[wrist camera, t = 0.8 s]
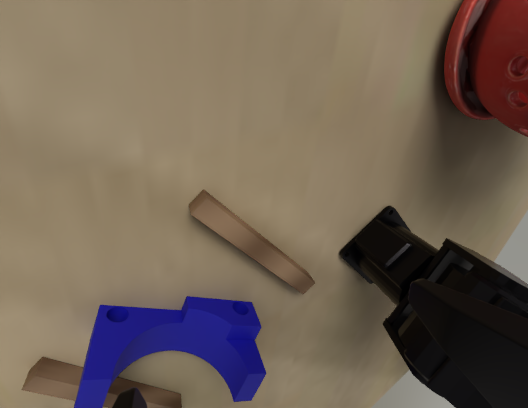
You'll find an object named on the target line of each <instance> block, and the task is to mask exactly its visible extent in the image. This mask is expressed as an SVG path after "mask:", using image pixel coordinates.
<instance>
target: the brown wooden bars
mask: <svg viewBox="0 0 528 408" xmlns="http://www.w3.org/2000/svg"><path fill="white" fill-rule="evenodd" d="M189 208H190V212H191V215H192V216H194V217H195V218H197V219H198V220H200V221H201V222H202V223H204V224H205V225H207V226H208V227H209V228H211V229H212V230H214V231H215V232H216V233H218V234H219V235H221V236H222V237H223V238H225V239H226V240H228V241H229V242H230V243H232V244H233V245H235V246H236V247H237V248H239V249H240V250H242V251H243V252H245V253H246V254H247V255H249V256H250V257H252V258H253V259H254V260H256V261H257V262H259V263H260V264H261V265H263V266H264V267H266V268H267V269H268V270H270V271H271V272H273V273H274V274H275V275H277V276H278V277H280V278H281V279H282V280H284V281H285V282H287V283H288V284H290V285H291V286H292V287H294V288H295V289H297V290H298V291H299V292H301V293H302V294H304V293H305V292H306V291H307V290H308V289H309V288H310V287H311V286H313V285H314V284H315V282H314V280H313V279H312V277H311V276H310V275H309V273H308V272H307V271H306V270H304V269H303V268H302V267H300V266H299V265H298V264H297V263H295V262H294V261H293V260H292V259H290V258H289V257H288V256H287V255H285V254H284V253H283V252H282V251H280V250H279V249H278V248H277V247H275V246H274V245H273V244H272V243H270V242H269V241H268V240H267V239H265V238H264V237H263V236H262V235H260V234H259V233H258V232H257V231H255V230H254V229H253V228H251V227H250V226H249V225H248V224H246V223H245V222H244V221H243V220H241V219H240V218H239V217H238V216H236V215H235V214H234V213H233V212H231V211H230V210H229V209H228V208H226V207H225V206H224V205H223V204H221V203H220V202H219V201H218V200H216V199H215V198H214V197H213V196H211V195H210V194H209V193H208V192H206V191H205V190H204V189H203V190H202V192H201V193H200V194H199V195H198V196H197V197H196V198H195V199H194V200H193V201H192V202H191V203H190V204H189ZM82 372H83V368H82V367H78V366H74V365H70V364H67V363H63V362H59V361H56V360H52V359H48V358H44V357H42V358H41V359H40V360H39V361H38V362H37V363H36V364H35V365H34V366H33V367H32V368H31V369H30V371H29V373H28V376H27V378H26V380H25V383H24V385H23V388H22V390H24V391H29V392H34V393H39V394H44V395H49V396H54V397H59V398H64V399H69V400H74V401H76V397H77V393H78V389H79V384H80V380H81V376H82ZM132 387H136V388H138V390H139V391H140V393H141V395H142V396H143V398H144V400H145V401H146V404H147V408H182V406H181V394H178V393H174V392H171V391H167V390H163V389H160V388H156V387H152V386H148V385H145V384H141V383H137V382H134V381H130V380H126V379H122V378H119V377H116V379H115V380H114V381H113V383H112V384H111V386H110V388H109V389H108V392H107V395H106V398H105V401H104V404H103V407H108V408H112V406H113V404H114V402H115V400H116V398H117V397H118V395H119V394H120V393H121V392H122V391H124V390H127V389H130V388H132Z"/></svg>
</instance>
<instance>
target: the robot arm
mask: <svg viewBox="0 0 528 408" xmlns="http://www.w3.org/2000/svg"><path fill="white" fill-rule="evenodd" d="M389 211H390V212H389ZM442 244H443V246H442V247H441V248H440V250H437V249H436V248H434V247H433V246H431V245H430V244H428V243H427V242H425V241H424V240H422V239H421V238H419V237H418V236H416V235H415V234H413V233H412V232H411V231H410V230H409V228H408V227H407V225H406V224H405V222H404V221H403V220H402V218H401V217H400V215H399V214H398V212H397V211H396V209H395V208H393V207H392V206H387V207H386V208H385V209H384V210H383V211H382V212H381V213H380V214H378V215H377V216H376V217H375V218H374V219H373V220H372V221H371V222H370V223H369V224H368V225H367V226H366V227H365V228H364V229H363V230H362V231H361V232H360V233H359V234H358V235H357V236H355V237H354V238H353V239H352V240H351V241H350V242H349V243H348V244H347V245H346V246H345V247H344V248H343V249H342V250H341V251H340V255H341V257H342V258H343V259H344V260H346V261H347V262H348V263H349V264H350V265H351V266H352V267H353V268H354V269H355V270H356V271H357V272H358V273H359V274H360V275H361V276H362V277H363V278H364V279H365V280H366V281H367V282H369V283H370V284H372V283H375V284H376V285H377V286H378V287H379V288H380V289H381V290H382V291H383V292H384V293H385V294H386V295H387V296H388V297H389V298H390V299H391V300H392V301H393V302H394V303H395V304H396V305H397V307H396V308H395V309H394V311H393V312H392V313H391V315H390V316H389V317H388V318H386V319H385V321H384V322H383V326H384V327H385V329H386V331H387V332H388V334H389V336H390V338H391V339H392V341H393V343H394V344H395V346H396V348H397V349H398V351H399V353H400V354H401V356H402V358H403V359H404V361H405V362H406V364H407V366H408V367H409V369H410V371H411V372H412V374H413V375H414V376H415V377H416V378H417V379H418V380H419V381H420V382H421V383H423V384H425V385H426V386H427V387H428V388H429V389H431V390H432V391H433V392H435V393H436V394H438V395H440V396H442V397H444V398H445V399H446V400H447V401H449V402H450V403H451V404H452V405H453V406H454V407H456V408H528V284H527V283H525V282H524V281H522V280H521V279H519V278H518V277H516V276H515V275H513V274H512V273H511V272H509V271H508V270H506V269H505V268H503V267H501V266H500V265H498V264H496V263H494V262H493V261H491V260H489V259H487V258H486V257H484V256H482V255H480V254H479V253H477V252H475V251H473V250H471V249H469V248H466V247H464V246H462V245H460V244H458V243H456V242H454V241H452V240H450V239H447V238H446V239H445V241H444V242H443V243H442ZM345 253H346V254H345ZM112 408H147V404H146V401H145V400H144V398H143V396H142V395H141V393H140V391H139V390H138V388H136V387H132V388H130V389H127V390H124V391H122V392H121V393H120V394H119V395H118V397H117V398H116V400H115V402H114V404H113V406H112Z"/></svg>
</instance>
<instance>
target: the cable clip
mask: <svg viewBox="0 0 528 408" xmlns="http://www.w3.org/2000/svg"><path fill="white" fill-rule="evenodd" d="M260 329H261V324H260V322H259V319H258V317H257V314H256V312H255V309H254V307H253V304H252V302H243V301H232V300H221V299H210V298H199V297H188V296H187V297H186V300H185V302H184V305H183V307H182V310H167V309H152V308H138V307H123V306H108V305H100V307H99V310H98V314H97V317H96V321H95V324H94V328H93V331H92V335H91V339H90V343H89V347H88V351H87V355H86V359H85V364H84V368H83V372H82V376H81V380H80V384H79V389H78V393H77V397H76V401H75V405H74V408H102V407H103V404H104V401H105V398H106V395H107V392H108V389H109V388H110V386H111V384H112V383H113V381H114V380H115V379H116V377H117V376H118V375H119V374H120V373H121V372H122V371H123V370H124V369H125V368H126V367H127V366H128V365H130V364H131V363H132V362H134V361H136V360H137V359H139V358H141V357H143V356H146V355H148V354H151V353H155V352H159V351H168V350H175V351H182V352H187V353H191V354H193V355H196V356H198V357H200V358H202V359H204V360H205V361H207V362H208V363H210V364H211V365H212V366H213V367H214V368H215V369H216V370H217V371H218V372H219V373H220V374H221V376H222V377H223V378H224V380H225V381H226V383H227V385H228V387H229V389H230V391H231V394H232V397H233V401H234V402H239V401H251V400H252V398H253V397H254V395H255V393H256V391H257V389H258V388H259V386H260V384H261V382H262V380H263V379H264V377H265V375H266V371H265V368H264V365H263V362H262V360H261V357H260V354H259V351H258V348H257V346H256V343H255V339H256V337H257V335H258V333H259V331H260Z"/></svg>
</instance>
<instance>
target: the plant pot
mask: <svg viewBox="0 0 528 408" xmlns="http://www.w3.org/2000/svg"><path fill="white" fill-rule="evenodd" d="M444 76H445V83H446V87H447V90H448V93H449V96H450V98H451V100H452V102H453V103H454V105H455V106H456V107H457V108H458V109H459V110H460V111H461V112H462V113H463V114H465V115H466V116H468V117H471V118H474V119H479V120H488V119H494V118H496V119H498V120H499V121H500V122H502V123H503V124H505V125H506V126H508V127H509V128H511V129H513V130H514V131H516V132H518V133H520V134H522V135H525V136H527V137H528V0H464V1H463V3H462V5H461V7H460V9H459V11H458V13H457V15H456V18H455V20H454V22H453V25H452V28H451V31H450V34H449V38H448V42H447V47H446V52H445V62H444Z"/></svg>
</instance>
